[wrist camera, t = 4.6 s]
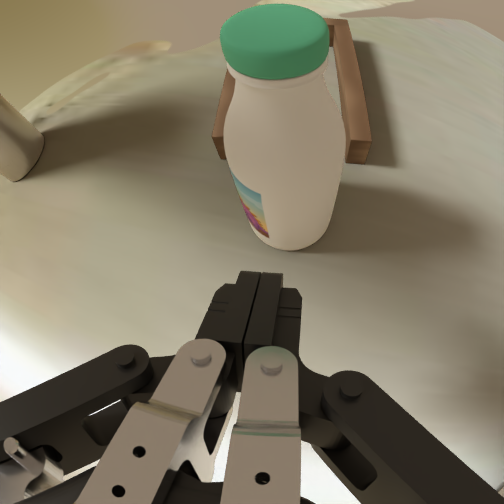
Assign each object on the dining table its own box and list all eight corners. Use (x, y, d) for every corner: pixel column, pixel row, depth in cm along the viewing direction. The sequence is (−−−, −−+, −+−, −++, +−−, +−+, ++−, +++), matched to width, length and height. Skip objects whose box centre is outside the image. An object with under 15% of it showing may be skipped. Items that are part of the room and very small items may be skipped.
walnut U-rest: (220, 159, 32) (211, 136, 28) (244, 39, 38) (240, 18, 34) (364, 164, 29) (371, 141, 26) (345, 40, 36) (347, 19, 32)
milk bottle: (332, 181, 29) (358, -6, 10) (327, 257, 27) (378, 87, 8) (255, 174, 31) (207, -7, 12) (242, 247, 28) (154, 82, 9)
